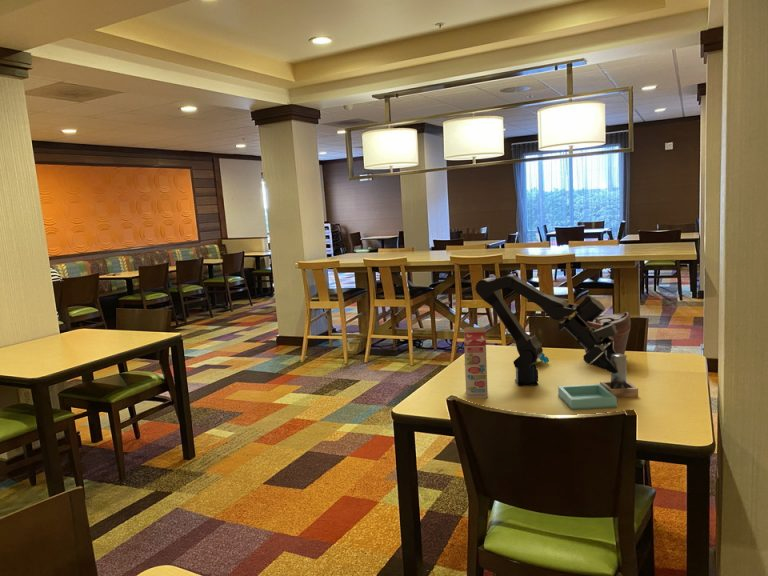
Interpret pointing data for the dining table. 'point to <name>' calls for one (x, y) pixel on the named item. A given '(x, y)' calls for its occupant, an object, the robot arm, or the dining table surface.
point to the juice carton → (475, 362)
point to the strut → (620, 365)
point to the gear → (544, 358)
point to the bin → (587, 397)
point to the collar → (621, 390)
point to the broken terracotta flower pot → (622, 328)
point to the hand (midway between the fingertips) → (619, 368)
